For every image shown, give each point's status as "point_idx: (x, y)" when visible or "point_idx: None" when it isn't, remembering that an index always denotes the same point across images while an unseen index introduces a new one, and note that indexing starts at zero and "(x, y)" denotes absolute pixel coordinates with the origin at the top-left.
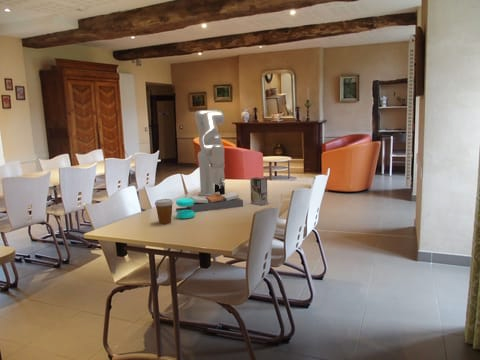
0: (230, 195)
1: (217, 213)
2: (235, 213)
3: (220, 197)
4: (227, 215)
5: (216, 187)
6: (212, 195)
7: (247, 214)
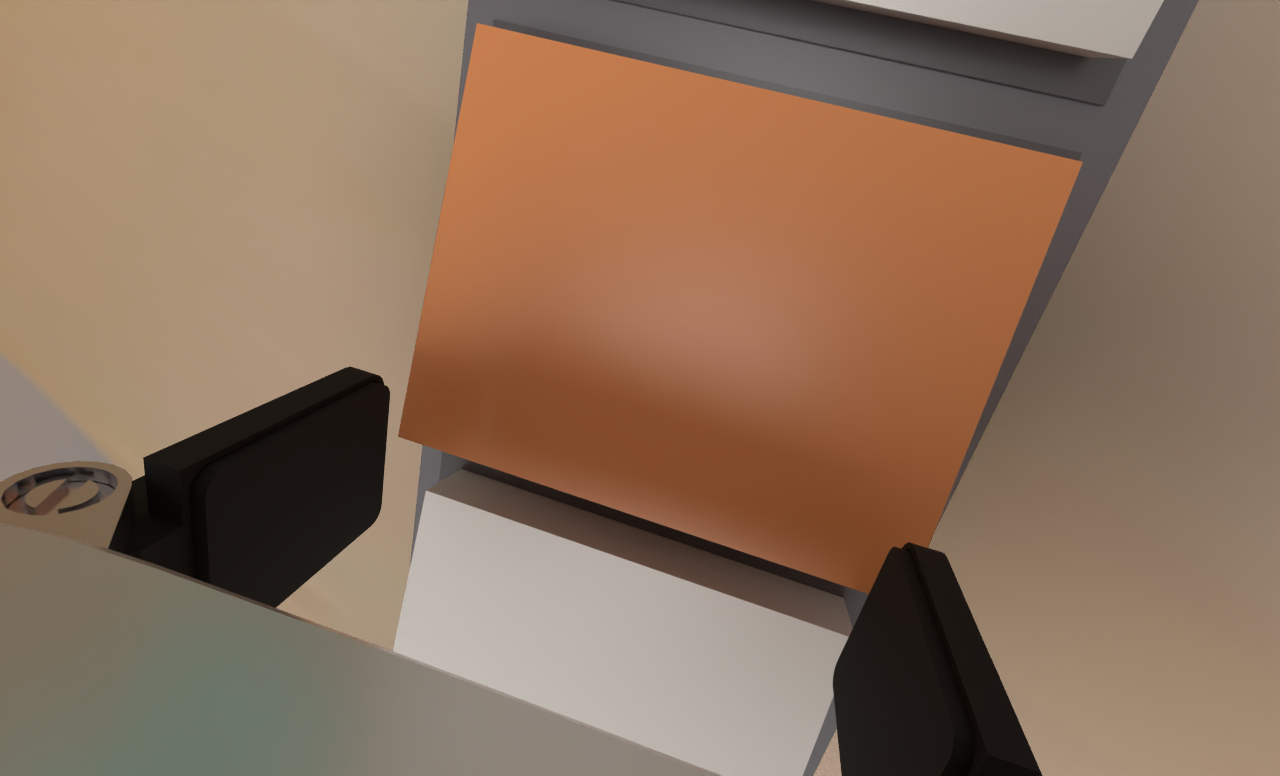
0: (509, 674)
1: (241, 15)
2: (127, 269)
3: (420, 358)
4: (59, 89)
5: (904, 743)
6: (888, 381)
7: (27, 356)
